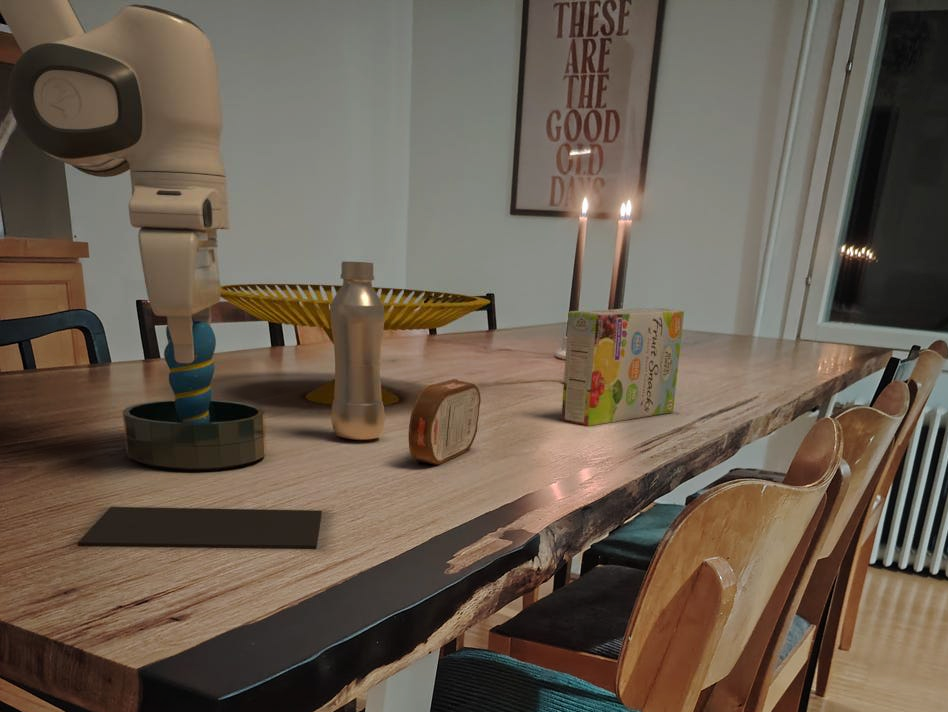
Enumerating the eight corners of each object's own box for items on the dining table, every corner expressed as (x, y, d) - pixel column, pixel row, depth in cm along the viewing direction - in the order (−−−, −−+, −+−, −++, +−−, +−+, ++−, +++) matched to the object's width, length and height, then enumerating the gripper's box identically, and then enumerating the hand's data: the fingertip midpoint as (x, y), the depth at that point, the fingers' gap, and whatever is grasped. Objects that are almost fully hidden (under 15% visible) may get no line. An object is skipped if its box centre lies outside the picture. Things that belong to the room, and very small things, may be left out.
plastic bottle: (346, 447, 108) (344, 262, 100) (321, 436, 113) (318, 260, 105) (394, 443, 112) (397, 264, 104) (369, 432, 117) (369, 261, 109)
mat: (78, 547, 71) (77, 542, 71) (110, 511, 80) (110, 506, 80) (316, 550, 73) (316, 545, 73) (321, 514, 82) (321, 510, 82)
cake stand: (477, 384, 160) (481, 291, 154) (496, 429, 123) (502, 309, 117) (240, 374, 156) (235, 279, 150) (185, 417, 120) (176, 294, 114)
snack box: (644, 408, 145) (656, 306, 139) (674, 413, 142) (688, 309, 136) (557, 421, 131) (567, 308, 125) (589, 427, 128) (600, 312, 122)
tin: (458, 445, 112) (461, 373, 109) (482, 448, 111) (486, 376, 108) (404, 469, 99) (406, 389, 96) (431, 473, 98) (434, 392, 95)
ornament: (182, 446, 102) (170, 301, 96) (228, 448, 101) (220, 304, 95) (165, 456, 97) (152, 304, 91) (214, 459, 97) (204, 307, 91)
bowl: (113, 472, 92) (107, 421, 90) (144, 442, 105) (139, 397, 103) (258, 475, 94) (256, 425, 92) (271, 445, 107) (269, 401, 105)
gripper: (168, 209, 99) (180, 344, 104) (123, 204, 80) (140, 369, 86) (229, 212, 99) (237, 345, 105) (198, 207, 81) (210, 370, 86)
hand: (193, 356), depth 95 cm, fingers open, 8 cm apart
